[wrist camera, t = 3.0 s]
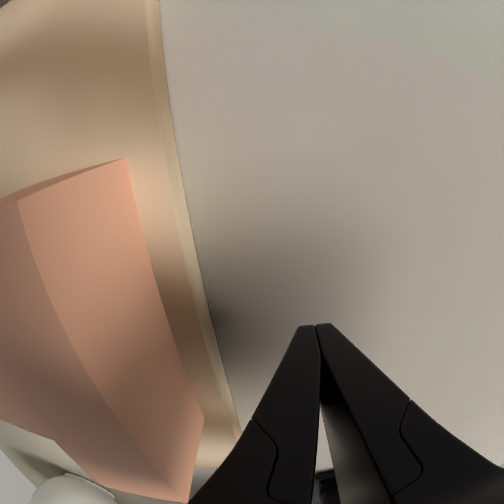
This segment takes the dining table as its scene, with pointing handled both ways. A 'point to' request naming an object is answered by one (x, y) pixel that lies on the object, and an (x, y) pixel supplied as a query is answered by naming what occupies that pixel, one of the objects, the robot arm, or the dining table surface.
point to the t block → (93, 335)
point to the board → (113, 155)
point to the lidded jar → (71, 491)
